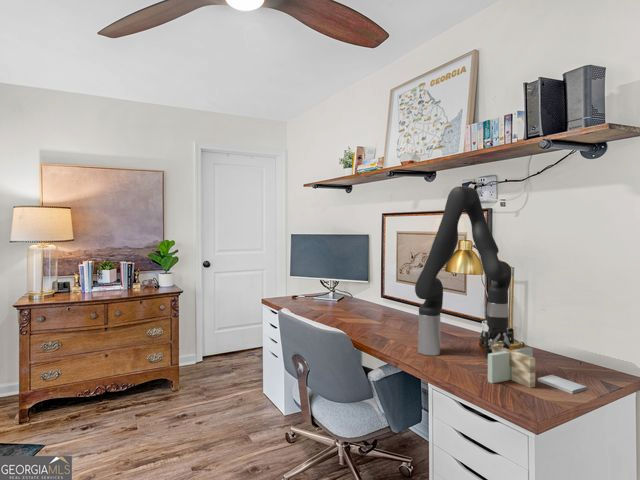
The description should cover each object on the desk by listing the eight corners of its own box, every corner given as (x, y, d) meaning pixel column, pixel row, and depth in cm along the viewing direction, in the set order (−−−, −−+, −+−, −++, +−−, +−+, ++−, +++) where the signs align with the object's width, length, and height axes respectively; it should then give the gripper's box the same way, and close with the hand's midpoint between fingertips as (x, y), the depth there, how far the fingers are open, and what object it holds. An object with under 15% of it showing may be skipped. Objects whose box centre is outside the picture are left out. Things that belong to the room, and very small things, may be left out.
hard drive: (587, 386, 133) (552, 374, 144) (572, 390, 129) (537, 377, 140) (587, 391, 133) (552, 378, 144) (572, 395, 129) (537, 382, 140)
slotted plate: (492, 383, 138) (492, 355, 138) (487, 381, 140) (487, 353, 140) (532, 375, 146) (532, 348, 146) (527, 373, 148) (527, 347, 147)
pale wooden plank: (535, 386, 135) (535, 358, 135) (529, 387, 134) (530, 358, 134) (493, 369, 152) (493, 344, 151) (488, 370, 151) (488, 344, 150)
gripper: (503, 310, 154) (503, 351, 154) (475, 314, 149) (475, 356, 149) (519, 314, 147) (519, 357, 148) (491, 318, 142) (491, 362, 142)
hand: (497, 356), depth 148 cm, fingers open, 8 cm apart
